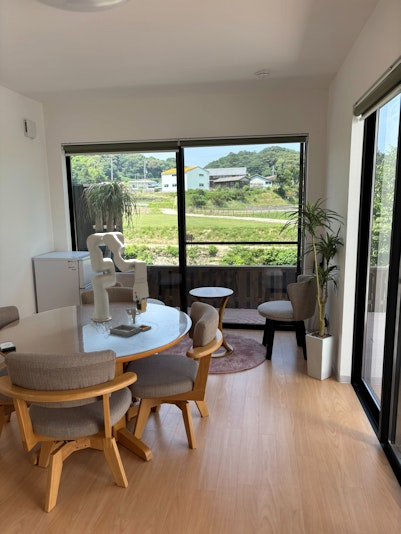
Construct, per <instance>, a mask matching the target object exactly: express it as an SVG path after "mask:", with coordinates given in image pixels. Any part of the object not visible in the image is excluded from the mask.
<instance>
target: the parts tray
mask: <svg viewBox="0 0 401 534" xmlns="http://www.w3.org/2000/svg"><path fill="white" fill-rule="evenodd" d="M139 333H141V331H140V328H139V327H137V326H133V325H129V324H123V323H122V324H119V325H116V326H113V327H110V328H109V334H110V335H115V336H120V337H121V336H122V337H125V338H129V337H131V336H134V335H136V334H139Z"/></svg>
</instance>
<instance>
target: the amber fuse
mask: <svg viewBox="0 0 401 534" xmlns="http://www.w3.org/2000/svg"><path fill="white" fill-rule="evenodd" d="M138 301H139V300H138ZM140 304H141V310H138V309H137V308H136V311H137V312H139V313H140V314H144V313H146V312H147V302H146V299H141V302H140ZM139 313H138V314H139Z"/></svg>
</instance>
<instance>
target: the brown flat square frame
mask: <svg viewBox="0 0 401 534" xmlns="http://www.w3.org/2000/svg"><path fill="white" fill-rule="evenodd" d="M136 327H139V328H140V332H142V333H144V332H147V331H150V330H151V329H152V326H151V325H146V324H141V325H138V326H136Z"/></svg>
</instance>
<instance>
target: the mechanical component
mask: <svg viewBox="0 0 401 534" xmlns="http://www.w3.org/2000/svg"><path fill="white" fill-rule="evenodd" d="M125 311H126V314H127V315H128V316H131V317H132V324H133V325H134V324H136V317H137V316H139V315H140V314H141V313H139V312H137V308H133V307H132V308H129V307H128V308H126V309H125Z"/></svg>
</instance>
